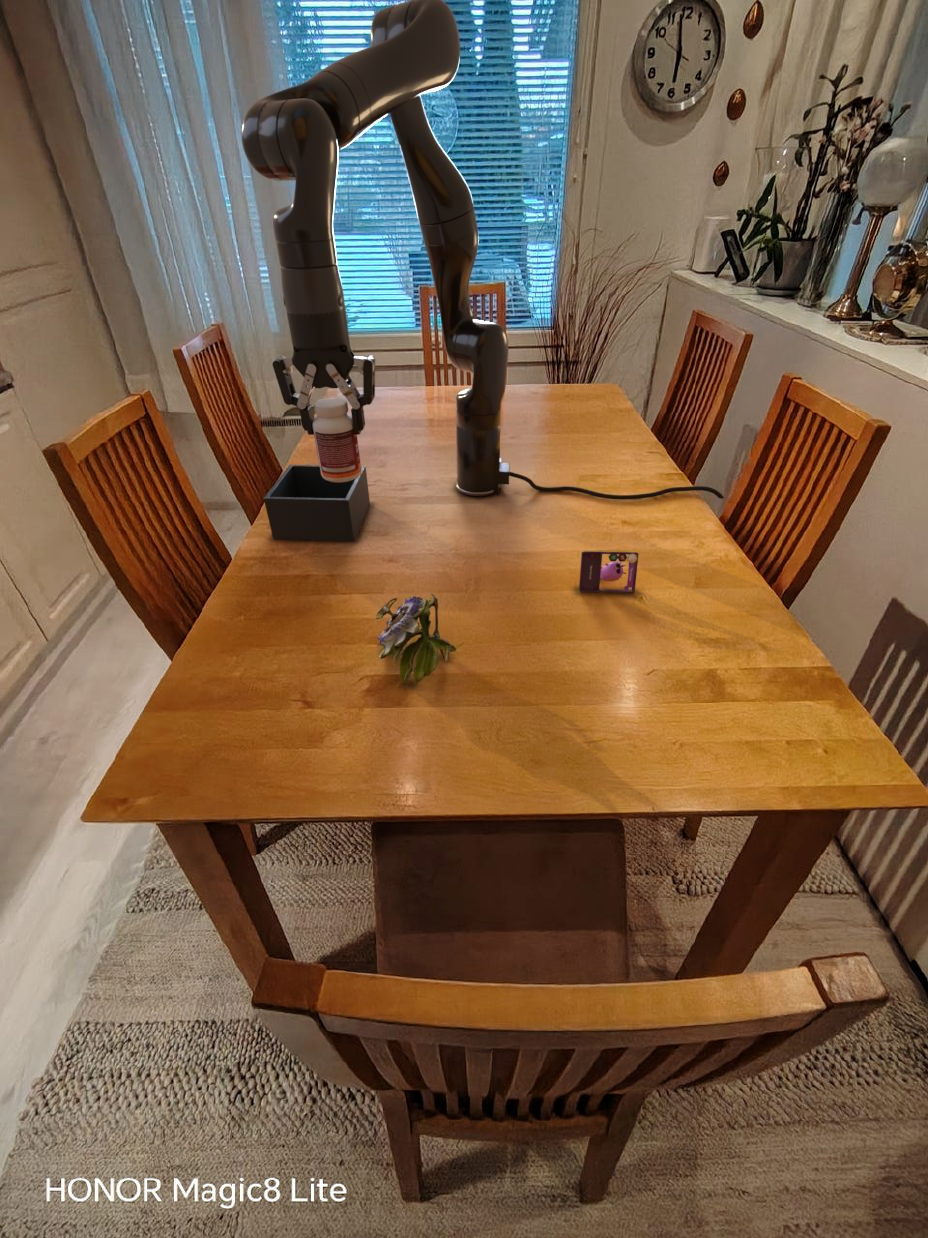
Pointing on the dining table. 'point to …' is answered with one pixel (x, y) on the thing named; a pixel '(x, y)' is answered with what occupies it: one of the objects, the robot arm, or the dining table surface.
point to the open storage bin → (316, 505)
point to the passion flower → (405, 629)
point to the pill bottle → (336, 441)
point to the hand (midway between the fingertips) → (335, 432)
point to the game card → (606, 570)
